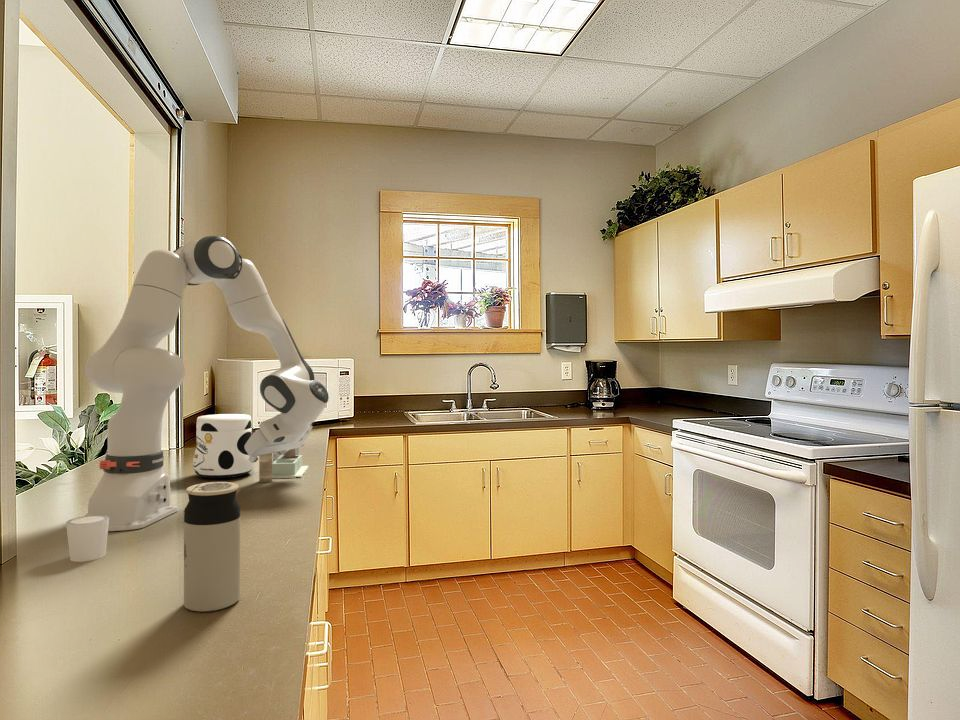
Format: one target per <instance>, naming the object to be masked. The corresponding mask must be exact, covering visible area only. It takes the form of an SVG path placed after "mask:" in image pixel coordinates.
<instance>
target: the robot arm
mask: <svg viewBox="0 0 960 720" xmlns="http://www.w3.org/2000/svg"><path fill="white" fill-rule="evenodd" d="M137 271H138V272H137V273H136V276H135V278H134V281H133V283H132V286H131V287H132V288H131V289H130V290H131V291H130V294H129V297H128V299H127V303H126V305H125V308H124V312H123V314H122V316H121V319H120V320H119V322H118V324H117V326H116V327H115V329H114V330H113V332H112V333H111V334H110V336H109V338H108V339H107V340H106V342H104V344H103V345H102V346H101V347H100V348H99V349H98V350H96V351H95V352H93V353H91V355H90V356H89V358H88V359H87V360H86V363H85V369H84V372H85V376H86V379H87V380H88V382H89V383H90V384H91V385H92V386H93V387H95V388H97V389H100V390H102V391H105V392H108V393H113V394H115V393H116V394H122V397H121V401H120V403H119V404H120V405H119V406H118V408H117V410H116V412H115V413H114V414H113V415H112V416H110V418H109V419H108V422H107V454H105V457H104V458H105V459H104V460H103V459H102V460H100V461H99V463H98V468H99V470H102V472H103V474H102V476H101V477H100V479H99V481H98V482H97V485H96V487H95V488H94V490H93V491H92V493H91V495H90V497H89V498H88V505H87V513H86V514H85V515H84V516H91V515H104V516H108V517H109V525H108V532H116V531H117V532H118V531H129V530H130V531H131V530H137V529H143V528H145V527H147V526H149V525H152V524H154V523H155V522H158V521H160V520H162V519H164V518H166V517H168V516H170V515H173V514H174V513H177V512H178V506H176V505H173V504H172V494H171V493H172V492H171V483H170V482H171V480H170V479H171V478H170V476H169V474H167V473H166V472H165V470H164V469H163V466H164V459H165V458H164V457H165V456H164V451H163V450H162V429H163V427H162V426H163V418H164V413H165V409H166V407H167V404H168V402H169V400H170V398H171V396H172V394H173V393H174V392H175V391H176V390H177V389H178V388H179V387H180V386H181V385H182V383H183V381H184V378H185V375H186V374H185V372H186V368H185V364H184V362H183V359H182V358H181V357H180V356H179V355H178V354H177V353H175V352H173V351H170V350H167V349H163V348H161V347H157V346H158V345H159V344H160V342H161V341H162V340H163V339H165V337H167V336H169V335H170V334H171V333H172V332H173V330H174V328H175V326H176V322H177V319H178V316H179V311H180V309H181V305H182V302H183V296H184V293H185V289H186V288H187V286H198V285H201V284H209V283H213V284H215V285H216V286H217V287H218V288H219V289H220V291H221V292H222V294H223V297H224V300H225V303H226V306H227V309H228V312H229V313H230V316H231V318H232V319H233V321H234V322H235V324H236V326H237V327H239V328H241V329H242V330H244V331H247V332H250V333H257V334H260V335H261V336H262V335H263V336H264V337H265V338H266V339H267V340H268V341H269V343H270V344H271V346H272V348H273V350H274V352H275V354H276V357H277V359H278V360H279V363H280V368H279V369H277V370H275V371H273V372H271V373H270V374H268V375H267V376H265V377H264V378H262V380H261V381H260V384H259V385H260V386H259V393H260V396H261V398H262V400H263V401H264V402H265V403H266V404H267V405H269V406H270V407H272V408H273V409H274V410H276V411H277V412H279V413H280V414H276V415H275V416H273V417H271V418H269V419H266V420H263V421H261V422H260V423H259V425H258V427H259V428H258V429H256V430H257V431H256V430H254V431H255V432H254V431H253V432H254V433H253V434H252V436H251V437H250V438H249V440H248V441H247V442H246V444H245V446H244V447H245V450H246V452H247V453H248V455H249V456H250V457H249V461H250V462H251V463H254V464H255V463H256V462H257V461H259V455H264V454H269V453H272V454H273V453H274V452H275V453H274V456H275V457H276V458H278V457H281V456H282V455H283V454H284V453H286V452H287V451H289V450H290V449H295V448H301V447H303V446H302V445H304V444H305V442H306V441H307V440H308V438H309V437H310V435H311V430H312V429H313V425H312V424H313V423H315V422H316V420H317V419H318V418H319V416H321V414H322V413H323V411H324V410H325V408H326V406H327V404H328V402H329V392H328V390H327V388H326V386H324V384H322V383H321V382H320V381H318V380H315V374H314V371H313V369H312V367H311V366H310V365H309V364H308V362H307V361H306V360H305V359H304V357H303V356H302V355H301V351H300V350H299V348H298V346H297V344H296V342H295V339H294V338H293V335H292V334H291V331H290V329H289V327H288V326H287V323H286V322H285V319H283V317H282V315H281V314H279V312H278V311H277V309H276V308H275V306H274V304H273V302H272V300H271V297H270V295H269V292H268V288H267V287H266V284H265V282H264V280H263V278H262V277H261V275H260V273H259V271H258V269H257V268H256V265H255V264H254V263H253V262H252V261H251V260H250V259H247V258H242V255H241V254H240V253H239V252H238V250H237V248H236V246H234V244H233V243H232V242H231V241H229V240H228V238H227V239H226V238H225V237H224V236H219V235H207V236H204V237H202V238H199V239H194V240H191V241H189V242H187V243H185V244H183V245H181V246H179V247H177V248H176V249H175V250H173V251H172V250H167V249H155V250H152V251H150V252H149V253H148V254H147V255H146V256H145V258H144V259H143V260H142V263H141V264H140V267H139V269H138V270H137Z"/></svg>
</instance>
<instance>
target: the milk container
mask: <svg viewBox="0 0 960 720" xmlns="http://www.w3.org/2000/svg"><path fill="white" fill-rule="evenodd" d="M195 426H196V431H195V433H196V435H195V436H196V439H195V440H196V446H195V451H194V454H193V457H192V466H193V467H192V468H193V471H194V473H195V474H196V475H198V476H199V477H203V478H208V479H226V478H227V479H229V478H237V477H241V476H244V475H247V474H248V473H250V472H251V471H252V470H253V469H254V466H255V462H254V463H251V462H250V461H249V457H250V456H249V455H248V453H247V452H246V450H245V447H244V446H245V444H246V442H247V441H248V440H249V438H250V437H251V436H252V432H253V429H252V417H251V415H250V414H245V413H243V414H242V413H241V414H240V413H218V414H216V413H215V414H206V415H200V416H198V417H197V418H196V425H195Z"/></svg>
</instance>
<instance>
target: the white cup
mask: <svg viewBox="0 0 960 720" xmlns="http://www.w3.org/2000/svg"><path fill="white" fill-rule="evenodd" d="M108 525H109V517H108V516H104V515H91V516H85V515H84V516H78V517H75V518H71V519H68V520H67V521H66V522H65V526H66V535H67V544H68V553H69V560H70V561H71V562H77V563H83V562H90V561H95V560H99V559H101V558H103V557H105V556H106V554H107V545H108V544H107V543H108V534H109V531H108Z"/></svg>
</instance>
